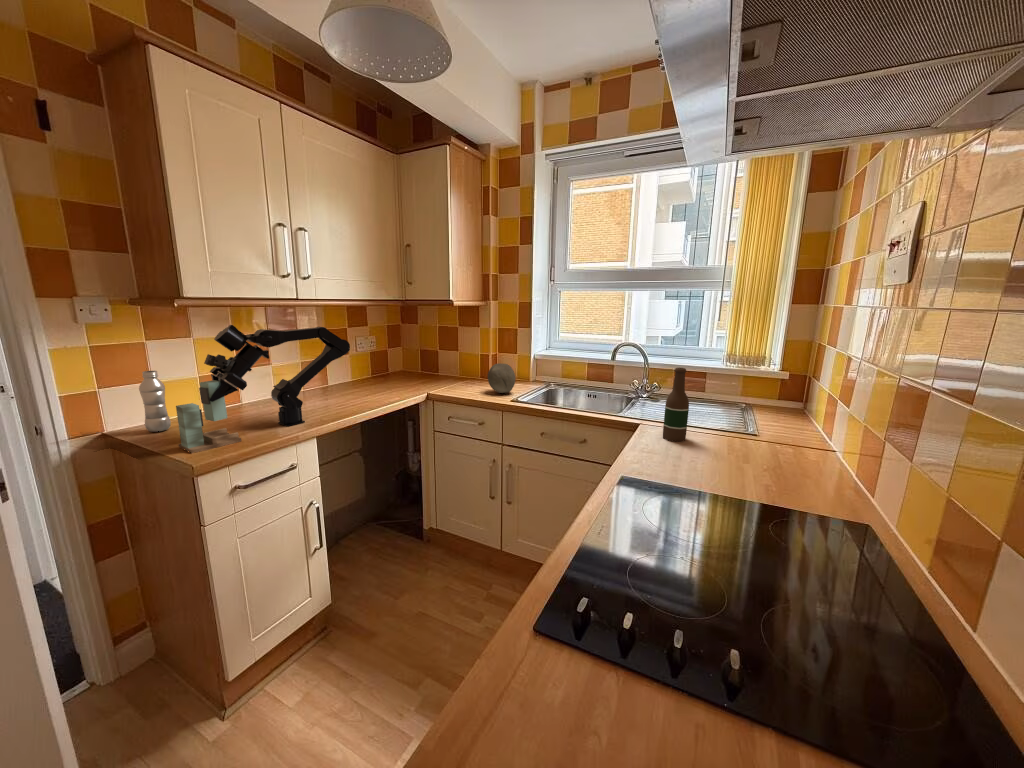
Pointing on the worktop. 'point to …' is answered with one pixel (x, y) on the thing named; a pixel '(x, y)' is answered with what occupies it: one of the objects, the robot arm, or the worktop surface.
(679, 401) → the beer bottle
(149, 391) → the plastic bottle
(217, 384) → the block
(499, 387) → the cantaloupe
